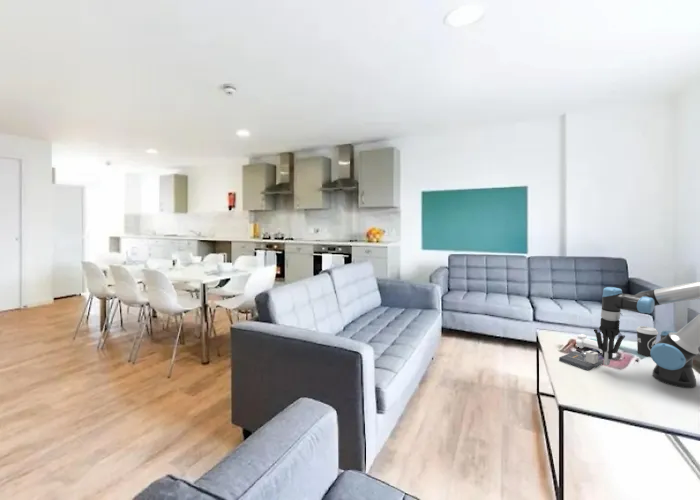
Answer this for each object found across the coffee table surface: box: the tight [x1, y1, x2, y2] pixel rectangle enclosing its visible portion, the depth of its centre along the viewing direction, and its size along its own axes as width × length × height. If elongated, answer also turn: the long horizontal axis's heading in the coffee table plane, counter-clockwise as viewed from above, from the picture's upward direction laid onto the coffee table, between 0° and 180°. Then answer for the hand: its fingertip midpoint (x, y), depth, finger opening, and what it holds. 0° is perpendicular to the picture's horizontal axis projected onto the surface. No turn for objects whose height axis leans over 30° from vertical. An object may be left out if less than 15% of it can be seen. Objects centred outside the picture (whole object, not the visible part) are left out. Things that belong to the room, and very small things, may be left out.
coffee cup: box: [635, 325, 659, 357], centre depth 195 cm, size 10×10×15 cm
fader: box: [585, 350, 599, 364], centre depth 181 cm, size 4×4×5 cm
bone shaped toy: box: [575, 333, 609, 354], centre depth 201 cm, size 15×9×8 cm, turn 35°
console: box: [558, 351, 604, 372], centre depth 185 cm, size 14×16×4 cm
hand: (606, 364), depth 175 cm, fingers closed
